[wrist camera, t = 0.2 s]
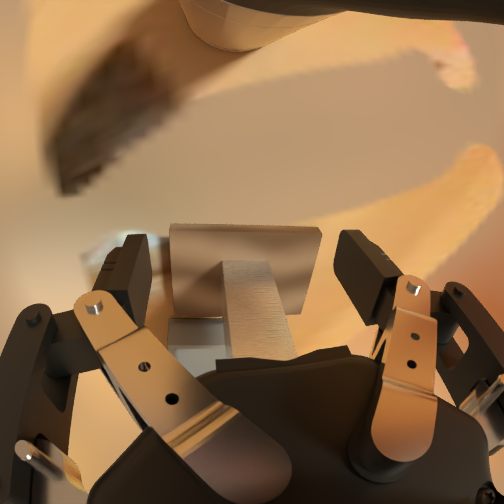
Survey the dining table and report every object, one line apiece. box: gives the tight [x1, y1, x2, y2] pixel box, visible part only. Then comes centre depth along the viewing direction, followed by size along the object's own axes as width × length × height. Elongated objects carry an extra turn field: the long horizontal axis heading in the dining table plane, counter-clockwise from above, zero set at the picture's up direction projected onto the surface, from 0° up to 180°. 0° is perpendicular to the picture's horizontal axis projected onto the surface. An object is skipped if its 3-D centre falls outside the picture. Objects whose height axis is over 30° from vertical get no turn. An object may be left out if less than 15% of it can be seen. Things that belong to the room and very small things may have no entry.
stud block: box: [169, 224, 322, 317], centre depth 32 cm, size 12×16×6 cm
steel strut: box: [220, 260, 298, 361], centre depth 28 cm, size 5×5×14 cm
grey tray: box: [167, 319, 226, 378], centre depth 41 cm, size 14×14×4 cm
